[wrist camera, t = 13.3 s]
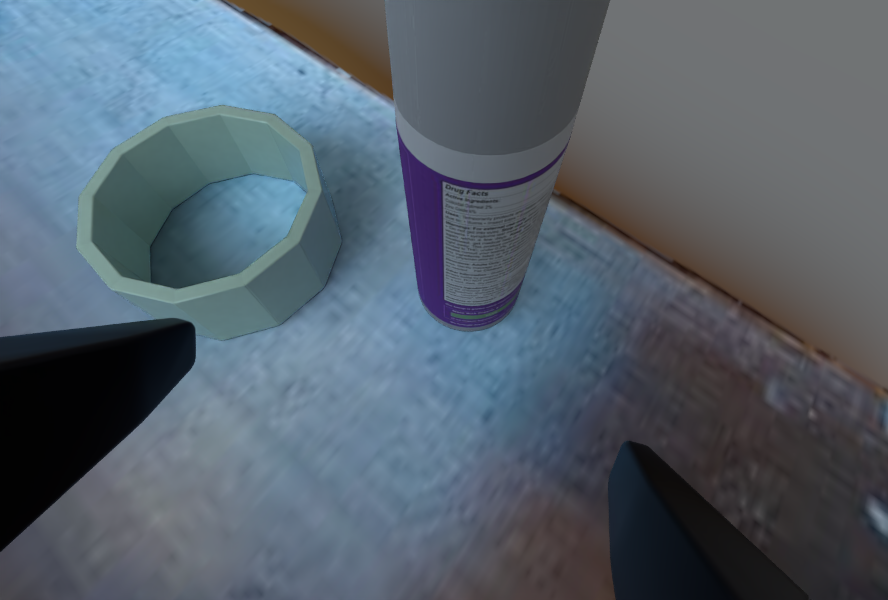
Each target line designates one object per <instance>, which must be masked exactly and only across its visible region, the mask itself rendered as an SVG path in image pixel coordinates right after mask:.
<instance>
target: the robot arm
mask: <svg viewBox="0 0 888 600" xmlns="http://www.w3.org/2000/svg"><path fill="white" fill-rule="evenodd" d="M195 358H196V330H195V326H194V324H193V323H191V322H189V321H186V320H182V319H178V318H165V319H156V320H148V321H139V322H130V323H121V324H113V325H104V326H95V327H86V328H77V329H69V330H60V331H51V332H42V333H33V334H25V335H16V336H7V337H0V552H1V551H2V550H3V549H4V548H5V547H7V546H8V545H9V544H10V543H11V542H12V541H13V540H14V539H15V538H16V537H17V536H19V535H20V534H21V533H22V532H23V531H24V530H25V529H26V528H27V527H28V526H30V525H31V524H32V523H33V522H34V521H35V520H36V519H37V518H38V517H39V516H40V515H42V514H43V513H44V512H45V511H46V510H47V509H48V508H49V507H50V506H51V505H52V504H54V503H55V502H56V501H57V500H58V499H59V498H60V497H61V496H62V495H63V494H65V493H66V492H67V491H68V490H69V489H70V488H71V487H72V486H73V485H74V484H75V483H77V482H78V481H79V480H80V479H81V478H82V477H83V476H84V475H85V474H86V473H87V472H89V471H90V470H91V469H92V468H93V467H94V466H95V465H96V464H97V463H98V462H100V461H101V460H102V459H103V458H104V457H105V456H106V455H107V454H108V453H109V452H110V451H112V450H113V449H114V448H115V447H116V446H117V445H118V444H119V443H120V442H121V441H122V440H124V439H125V438H126V437H127V436H128V435H129V434H130V433H131V432H132V431H133V430H134V429H135V428H137V427H138V426H139V425H140V424H141V423H142V422H143V421H144V420H145V419H146V418H147V417H148V416H149V414H150V413H151V412H152V411H153V410H154V409H155V408H156V407H157V406H158V405H159V404H160V402H161V401H162V400H163V399H164V398H165V397H166V396H167V395H168V394H169V393H170V391H171V390H172V389H173V388H174V387H175V386H176V385H177V384H178V383H179V381H180V380H181V379H182V378H183V377H184V376H185V375H186V374H187V373H188V372H189V370H190V369H191V368H192V366H193V365H194V362H195ZM608 502H609V536H610V560H611V570H612V578H613V585H614V592H615V598H616V600H809V597H808V595H807V594H806V593H805V592H804V591H803V590H802V589H801V588H800V587H799V586H798V585H797V584H795V583H794V582H793V581H792V580H791V579H790V578H789V577H788V576H787V575H786V574H785V573H784V572H783V571H782V570H780V569H779V568H778V567H777V566H776V565H775V564H774V563H773V562H772V561H771V560H770V559H769V558H768V557H766V556H765V555H764V554H763V553H762V552H761V551H760V550H759V549H758V548H757V547H756V546H755V545H754V544H753V543H751V542H750V541H749V540H748V539H747V538H746V537H745V536H744V535H743V534H742V533H741V532H740V531H739V530H738V529H736V528H735V527H734V526H733V525H732V524H731V523H730V522H729V521H728V520H727V519H726V518H725V517H724V516H722V515H721V514H720V513H719V512H718V511H717V510H716V509H715V508H714V507H713V506H712V505H711V504H710V503H709V502H707V501H706V500H705V499H704V498H703V497H702V496H701V495H700V494H699V493H698V492H697V491H696V490H695V489H694V488H692V487H691V486H690V485H689V484H688V483H687V482H686V481H685V480H684V479H683V478H682V477H681V476H680V475H679V474H677V473H676V472H675V471H674V470H673V469H672V468H671V467H670V466H669V465H668V464H667V463H666V462H665V461H663V460H662V459H661V458H660V457H659V456H658V455H657V454H656V453H655V452H654V451H653V450H652V449H651V448H650V447H648V446H646V445H643V444H640V443H636V442H632V441H625V442H624V443H623V444H622V446H621V448H620V450H619V453H618V455H617V458H616V460H615V463H614V466H613V468H612V471H611V473H610V476H609V481H608Z"/></svg>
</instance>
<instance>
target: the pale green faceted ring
mask: <svg viewBox="0 0 888 600" xmlns="http://www.w3.org/2000/svg"><path fill="white" fill-rule="evenodd" d="M253 173H254V174H259V175H264V176H269V177H274V178H279V179H285V180H290V181H294V182H295V183H296V184H297V185H298V186H300V187H301V188H302V189H303V190H304V191H305V192H307V193H306V195H305V198H304V200H303V202H302V204H301V207H300V209H299V211H298V213H297V215H296V218H295V220H294V222H293V224H292V226H291V229H290V231H289V233H288V235H287V237H285V238H284V239H283V240H282V241H280V242H279V243H278V244H276V245H275V246H274V247H273V248H271V249H270V250H269V251H268V252H266V253H265V254H264V255H262V256H261V257H260V258H259V259H257V260H256V261H255V262H253V263H252V264H251V265H250V266H248V267H247V268H246V269H244V270H243V271H242V272H241V273H239V274H235V275H231V276H227V277H223V278H219V279H215V280H211V281H207V282H203V283H199V284H196V285H192V286H188V287H184V288H180V289H175V288H171V287H167V286H162V285H158V284H153V283H151V264H150V246H151V244H152V243H153V241H154V239H155V238H156V236H157V234H158V232H159V231H160V229H161V227H162V226H163V224H164V222H165V221H166V219H167V217H168V216H169V214H170V212H171V210H172V209H174V208H175V207H176V206H178V205H179V204H181V203H182V202H184V201H185V200H187V199H188V198H189V197H191V196H192V195H194V194H195V193H197V192H198V191H200V190H201V189H202V188H204V187H205V186H207V185H208V184H210V183H214V182H218V181H223V180H227V179H231V178H236V177H240V176H245V175H249V174H253ZM341 243H342V238H341V234H340V230H339V226H338V221H337V217H336V213H335V209H334V205H333V201H332V198H331V195H330V192H329V190H328V187H327V184H326V181H325V179H324V176H323V173H322V171H321V168H320V165H319V162H318V160H317V157H316V154H315V151H314V149H313V146H312V144H311V143H309V142H308V141H307V140H306V139H305V138H303V137H302V136H301V135H300V134H298V133H297V132H296V131H295V130H294V129H292V128H291V127H290V126H289V125H287V124H286V123H285V122H284V121H282V120H281V119H280V118H279V117H278V116H276V115H274V114H270V113H265V112H259V111H253V110H248V109H242V108H237V107H231V106H225V105H219V106H214V107H209V108H205V109H200V110H195V111H190V112H185V113H181V114H176V115H171V116H166V117H164V118H161V119H160V120H158V121H157V122H155V123H153V124H152V125H150V126H149V127H147V128H145V129H144V130H142V131H140V132H139V133H137V134H136V135H134V136H132V137H131V138H129V139H128V140H126V141H124V142H123V143H121V144H119V145H118V146H116V147H115V148H113V149H112V150H111V151H110V153H109V154H108V155H107V157H106V158H105V160H104V161H103V163H102V164H101V165H100V167H99V168H98V170H97V171H96V172H95V174H94V175H93V177H92V178H91V180H90V181H89V182H88V184H87V185H86V187H85V188H84V189H83V191H82V192H81V194H80V195H79V202H78V222H77V243H76V247H77V250H78V251H79V252H80V254H81V255H82V256H83V257H84V258H85V260H86V261H87V262H88V263H89V264H90V266H91V267H92V268H93V269H94V270H95V272H96V273H97V274H98V275H99V276H100V278H101V279H102V280H103V281H104V282H105V284H106V285H107V286H108V287H109V288H110V289H111V290H112V291H114V292H115V293H117V294H118V295H120V296H121V297H123V298H124V299H126V300H127V301H129V302H130V303H132V304H133V305H135V306H136V307H138V308H139V309H141V310H142V311H144V312H145V313H147V314H148V315H150V316H151V317H153V318H154V319H165V318H178V319H182V320H186V321H189V322H191V323H193V324H194V326H195V330H196V335H199V336H204V337H208V338H212V339H216V340H221V341H222V340H226V339H230V338H234V337H238V336H241V335H245V334H249V333H253V332H256V331H260V330H264V329H268V328H271V327H275V326H279V325H281V324H282V323H283V322H284V321H286V320H287V319H288V318H289V317H290V316H292V315H293V314H294V313H295V312H296V311H297V310H299V309H300V308H301V307H302V306H303V305H304V304H306V303H307V302H308V301H309V300H310V299H312V298H313V297H314V296H315V295H316V294H317V293H319V292H320V291H321V290H322V289H323V288H324V287H325V284H326V282H327V279H328V277H329V274H330V272H331V269H332V266H333V264H334V261H335V259H336V256H337V254H338V251H339V248H340V246H341Z"/></svg>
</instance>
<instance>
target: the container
mask: <svg viewBox="0 0 888 600" xmlns="http://www.w3.org/2000/svg"><path fill="white" fill-rule="evenodd" d="M384 1H385V10H386V21H387V32H388V42H389V52H390V62H391V73H392V82H393V93H394V105H395V115H396V127H397V135H398V142H399V150H400V157H401V165H402V172H403V180H404V187H405V195H406V202H407V210H408V217H409V225H410V232H411V240H412V247H413V255H414V262H415V270H416V278H417V285H418V291H419V296H420V299H421V302H422V304H423V306H424V307H425V309H426V310H427V312H428V313H429V314H430V315H431V316H432V317H433V318H434V319H435V320H436V321H438V322H439V323H441V324H443V325H444V326H447V327H449V328H452V329H455V330H459V331H479V330H483V329H487V328H489V327H492V326H494V325H496V324H497V323H499V322H500V321H502V320H503V319H504V318H505V317H506V316H507V315H508V314H509V313H510V311H511V310H512V308H513V306H514V304H515V302H516V299H517V297H518V294H519V291H520V288H521V285H522V282H523V279H524V276H525V273H526V270H527V267H528V264H529V261H530V258H531V255H532V252H533V249H534V246H535V243H536V240H537V237H538V234H539V231H540V227H541V224H542V221H543V218H544V215H545V212H546V209H547V206H548V203H549V200H550V197H551V194H552V191H553V188H554V185H555V182H556V179H557V176H558V173H559V170H560V167H561V164H562V161H563V158H564V155H565V152H566V149H567V146H568V142H569V140H570V137H571V133H572V129H573V126H574V122H575V119H576V115H577V112H578V108H579V105H580V102H581V98H582V95H583V91H584V88H585V84H586V81H587V77H588V74H589V70H590V67H591V64H592V60H593V57H594V54H595V50H596V47H597V43H598V40H599V36H600V33H601V29H602V26H603V22H604V19H605V16H606V12H607V9H608V6H609V2H610V0H384Z"/></svg>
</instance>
